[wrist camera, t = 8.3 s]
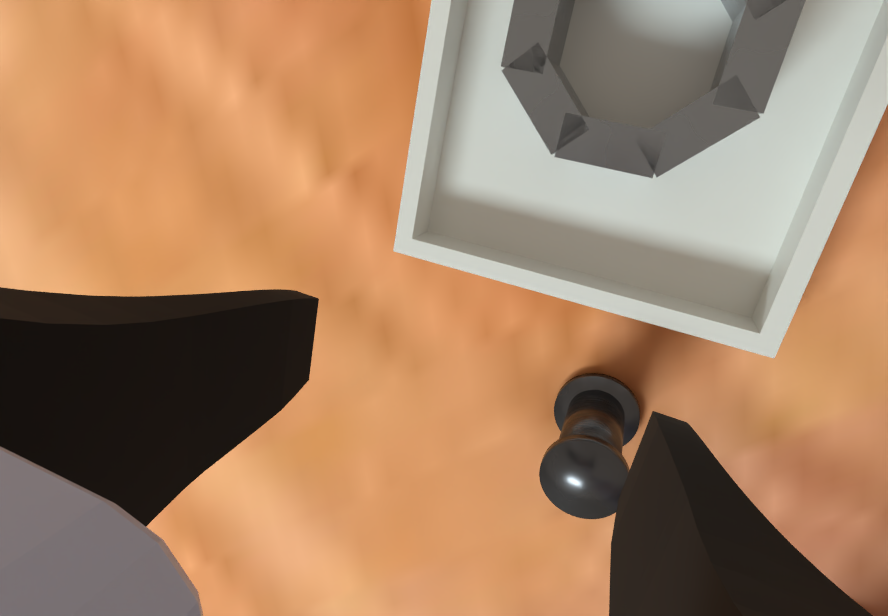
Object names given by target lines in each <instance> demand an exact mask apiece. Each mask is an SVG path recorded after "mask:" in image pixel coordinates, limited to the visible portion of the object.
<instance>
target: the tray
mask: <svg viewBox="0 0 888 616" xmlns="http://www.w3.org/2000/svg"><path fill="white" fill-rule="evenodd" d="M513 3H514V0H432V2H431V8H430V15H429V22H428V28H427V35H426V41H425V48H424V54H423V61H422V67H421V74H420V80H419V87H418V93H417V100H416V107H415V113H414V120H413V126H412V133H411V139H410V146H409V152H408V159H407V165H406V172H405V178H404V185H403V192H402V198H401V205H400V211H399V218H398V224H397V231H396V237H395V244H394V250H393V251H394V252H398V253H401V254H405V255H409V256H412V257H416V258H419V259H423V260H426V261H430V262H433V263H437V264H441V265H444V266H448V267H451V268H455V269H458V270H462V271H465V272H469V273H473V274H476V275H480V276H483V277H487V278H490V279H494V280H497V281H501V282H504V283H508V284H512V285H515V286H519V287H522V288H526V289H529V290H533V291H536V292H540V293H544V294H547V295H551V296H554V297H558V298H561V299H565V300H568V301H572V302H576V303H579V304H583V305H586V306H590V307H593V308H597V309H600V310H604V311H607V312H611V313H615V314H618V315H622V316H625V317H629V318H632V319H636V320H639V321H643V322H647V323H650V324H654V325H657V326H661V327H664V328H668V329H671V330H675V331H678V332H682V333H686V334H689V335H693V336H696V337H700V338H703V339H707V340H710V341H714V342H718V343H721V344H725V345H728V346H732V347H735V348H739V349H742V350H746V351H750V352H753V353H757V354H760V355H764V356H767V357H771V358H775V356H776V354H777V351H778V349H779V347H780V345H781V342H782V340H783V338H784V336H785V333H786V331H787V329H788V327H789V324H790V322H791V320H792V318H793V315H794V313H795V311H796V309H797V306H798V304H799V302H800V300H801V297H802V295H803V293H804V291H805V289H806V286H807V284H808V282H809V280H810V277H811V275H812V273H813V271H814V268H815V266H816V264H817V262H818V259H819V257H820V255H821V253H822V250H823V248H824V246H825V244H826V241H827V239H828V237H829V235H830V232H831V230H832V228H833V226H834V224H835V221H836V219H837V217H838V215H839V212H840V210H841V208H842V206H843V203H844V201H845V199H846V197H847V194H848V192H849V190H850V188H851V185H852V183H853V181H854V179H855V176H856V174H857V172H858V170H859V167H860V165H861V163H862V161H863V158H864V156H865V154H866V152H867V150H868V147H869V145H870V143H871V141H872V138H873V136H874V134H875V132H876V129H877V127H878V125H879V123H880V120H881V118H882V116H883V114H884V111H885V109H886V107H887V105H888V0H806V1H805V4H804V6H803V9H802V12H801V14H800V17H799V20H798V22H797V25H796V28H795V30H794V33H793V36H792V39H791V41H790V44H789V47H788V49H787V52H786V55H785V57H784V60H783V63H782V65H781V68H780V71H779V74H778V76H777V79H776V82H775V84H774V87H773V90H772V92H771V95H770V98H769V100H768V103H767V106H766V109H765V111H764V114H759V116H760V118H758V119H757V120H755V121H753V122H752V123H750V124H748V125H746V126H745V127H743V128H741V129H739V130H738V131H736V132H734V133H733V134H731V135H729V136H727V137H726V138H724V139H722V140H721V141H719V142H717V143H715V144H714V145H712V146H710V147H709V148H707V149H705V150H703V151H702V152H700V153H698V154H696V155H695V156H693V157H691V158H690V159H688V160H686V161H684V162H683V163H681V164H679V165H678V166H676V167H674V168H672V169H671V170H669V171H667V172H665V173H664V174H662V175H660V176H659V177H656V175H655V174H654V175H653V178H649V177H644V176H640V175H635V174H630V173H626V172H621V171H617V170H612V169H607V168H603V167H598V166H593V165H589V164H584V163H580V162H575V161H570V160H566V159H561V158H557V157H555V154H552V155H551V153H550V152H549V150H548V148H547V147H546V145H545V143H544V142H543V140H542V138H541V137H540V135H539V133H538V132H537V130H536V128H535V126H534V125H533V123H532V121H531V120H530V118H529V116H528V115H527V113H526V111H525V110H524V108H523V106H522V105H521V103H520V101H519V99H518V98H517V96H516V94H515V93H514V91H513V89H512V88H511V86H510V84H509V83H508V81H507V79H506V77H505V76H504V74H503V72H502V71H501V70H503V69H504V68H503V67H501V62H502V57H503V52H504V47H505V42H506V37H507V32H508V28H509V23H510V18H511V13H512V8H513ZM731 25H732V20H731V18H730V16H729V14H728V13H727V11H726V9H725V7H724V5H723V4H722V2H721V0H575V3H574V7H573V11H572V16H571V20H570V24H569V28H568V32H567V37H566V41H565V45H564V49H563V54H562V58H561V62H560V67H561V69H562V71H563V72H564V74H565V76H566V77H567V79H568V81H569V83H570V84H571V86H572V88H573V89H574V91H575V93H576V95H577V96H578V98H579V100H580V101H581V103H582V105H583V107H584V108H585V110H586V112H587V113H588V115H589V117H591V118H596V119H601V120H606V121H611V122H617V123H622V124H627V125H632V126H637V127H642V128H647V129H651V128H652V127H654V126H655V125H657V124H659V123H660V122H662V121H663V120H665V119H667V118H668V117H670V116H671V115H673V114H675V113H676V112H678V111H679V110H681V109H683V108H684V107H686V106H687V105H689V104H691V103H692V102H694V101H695V100H697V99H699V98H700V97H702V96H703V95H705V94H707V93H708V92H709V91H710V88H711V85H712V82H713V79H714V76H715V73H716V70H717V67H718V64H719V61H720V58H721V55H722V52H723V49H724V46H725V43H726V40H727V37H728V34H729V31H730V28H731Z"/></svg>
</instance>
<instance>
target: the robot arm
mask: <svg viewBox="0 0 888 616" xmlns="http://www.w3.org/2000/svg"><path fill="white" fill-rule="evenodd" d="M318 300H319V299H318V298H315V297H312V296H309V295H306V294H303V293H301V292H298V291H293V290H252V291H238V292H224V293H210V294H193V295H172V296H146V297H120V296H87V295H74V294H61V293H48V292H36V291H25V290H17V289H9V288H1V287H0V616H203V612H202V607H201V603H200V598H199V594H198V591H197V589H196V588H195V586H194V585H193V583H192V582H191V581H190V579H189V578H188V576H187V575H186V573H185V572H184V570H183V569H182V567H181V566H180V564H179V563H178V561H177V560H176V558H175V557H174V555H173V554H172V552H171V551H170V549H169V548H168V546H167V545H166V543H165V542H164V540H163V539H161V538H160V537H159V536H157V535H156V534H155V533H153V532H152V531H151V530H149V529H148V528H147V527H146V526H147V525H148V524H149V523H150V522H151V521H152V520H153V519H154V518H155V517H156V516H157V515H158V514H159V513H160V512H161V511H162V510H163V509H164V508H165V507H166V506H167V505H168V504H169V503H170V502H171V501H172V500H173V499H174V498H175V497H176V496H177V495H178V494H179V493H180V492H181V491H182V490H183V489H185V488H186V487H187V486H188V485H189V484H190V483H191V482H192V481H194V480H195V479H196V478H197V477H198V476H199V475H201V474H202V473H203V472H204V471H205V470H207V469H208V468H209V467H210V466H212V465H213V464H214V463H215V462H217V461H218V460H219V459H221V458H222V457H223V456H224V455H226V454H227V453H228V452H229V451H231V450H232V449H233V448H234V447H236V446H237V445H238V444H240V443H241V442H242V441H243V440H245V439H246V438H247V437H248V436H250V435H251V434H252V433H254V432H255V431H256V430H257V429H259V428H260V427H261V426H262V425H263V424H265V423H266V422H267V421H268V420H270V419H271V418H272V417H273V416H275V415H276V414H277V413H278V412H279V411H281V410H282V409H283V408H284V407H285V405H286V404H287V403H288V402H289V401H290V400H291V399H292V398H293V397H294V396H295V395H296V394H297V393H298V392H299V390H300V389H301V388H302V387H303V386H304V385H305V384H306V382H307V381H308V380H309V374H310V366H311V357H312V349H313V341H314V333H315V325H316V317H317V309H318ZM609 616H872V615H871V614H870V613H869V612H867V611H866V610H865V609H864V608H863V607H861V606H860V605H859V604H858V603H856V602H855V601H854V600H853V599H851V598H850V597H849V596H848V595H847V594H845V593H844V592H843V591H842V590H841V589H840V588H838V587H837V586H836V585H835V584H834V583H833V582H831V581H830V580H829V579H828V578H827V577H826V576H825V575H824V574H822V573H821V572H820V571H819V570H818V569H817V568H816V567H815V566H814V565H813V564H812V563H811V562H810V561H809V560H807V559H806V558H805V557H804V556H803V555H802V554H801V553H800V552H799V551H798V550H797V549H796V548H795V547H794V546H793V545H791V543H790V542H789V541H788V540H787V539H786V538H785V537H784V536H783V535H782V534H781V533H780V532H779V531H778V530H777V529H776V528H775V527H774V526H773V525H772V524H771V523H770V522H769V521H768V520H767V518H766V517H765V516H764V515H763V514H762V513H761V512H760V511H759V510H758V509H757V507H756V506H755V505H754V504H753V503H752V502H751V501H750V500H749V498H748V497H747V496H746V495H745V494H744V493H743V491H742V490H741V489H740V488H739V487H738V485H737V484H736V483H735V482H734V481H733V479H732V478H731V477H730V476H729V474H728V473H727V472H726V471H725V469H724V468H723V467H722V466H721V464H720V463H719V462H718V460H717V459H716V458H715V457H714V455H713V454H712V453H711V451H710V450H709V449H708V448H707V446H706V445H705V444H704V442H703V441H702V440H701V438H700V437H699V436H698V435H697V433H696V432H695V431H694V430H693V429H692V427H691V426H690V425H689V424H688V423H687V422H684V421H681V420H678V419H675V418H672V417H669V416H666V415H663V414H660V413H657V412H654V411H653V412H652V415H651V417H650V420H649V422H648V425H647V427H646V430H645V433H644V435H643V438H642V440H641V443H640V445H639V448H638V450H637V453H636V456H635V458H634V461H633V463H632V466H631V468H630V471H629V474H628V476H627V479H626V481H625V484H624V486H623V489H622V491H621V494H620V497H619V500H618V506H617V512H616V517H615V523H614V529H613V536H612V542H611V567H610V605H609Z"/></svg>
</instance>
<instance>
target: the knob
mask: <svg viewBox="0 0 888 616" xmlns="http://www.w3.org/2000/svg"><path fill="white" fill-rule="evenodd" d="M554 416H555V420H556V423H557V425H558V427H559V429H560V431H561V434H560V438H559V440H557V441H556V442H554V443H553V444H552V445H551V446H550V447H549V448H548V449H547V451H546V453H545V454H544V457H543V460H542V463H541V466H540V474H539V475H540V482H541V486H542V488H543V491H544V492H545V494H546V496H547V497H548V498H549V500H550V501H551V502H552V503H553V504H554V505H555V506H557V507H558V508H559V509H561V510H562V511H564V512H566V513H568V514H570V515H572V516H576V517H579V518H584V519H599V518H604V517H607V516H610V515H612V514H614V513H615V512H617V506H618V500H619V497H620V494H621V491H622V489H623V486H624V484H625V481H626V479H627V476H628V474H629V471H630V470H629V467H628V464H627V462H626V460H625V459H624V457H623V456H622V446H624V445H626V444H627V443H628V442H629V441H630V440H631V439H632V438H633V437H634V435H635V434H636V432H637V429H638V426H639V421H640V410H639V405H638V402H637V399H636V398H635V396H634V394H633V393H632V391H631V390H630V389H629V388H628V387H627V386H626V385H625V384H624V383H622V382H621V381H619V380H617V379H615V378H613V377H611V376H608V375H604V374H597V373H590V374H584V375H580V376H577V377H575V378H573V379H571V380H570V381H568V382H567V383H566V384H565V385H564V386H563V387H562V388H561V390H560V391H559V393H558V396H557V398H556V401H555V406H554Z"/></svg>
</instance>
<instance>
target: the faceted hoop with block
mask: <svg viewBox="0 0 888 616" xmlns="http://www.w3.org/2000/svg"><path fill="white" fill-rule="evenodd" d="M805 1H806V0H721V2H722V4H723V5H724V7H725V9H726V11H727V13H728V14H729V16H730V18H731V20H732V25H731V28H730V31H729V34H728V37H727V40H726V43H725V46H724V49H723V52H722V55H721V58H720V61H719V64H718V67H717V70H716V73H715V76H714V79H713V82H712V85H711V88H710V91H709V92H708V93H707V94H705V95H703V96H702V97H700V98H699V99H697V100H695V101H694V102H692V103H691V104H689V105H687V106H686V107H684V108H683V109H681V110H679V111H678V112H676V113H675V114H673V115H671V116H670V117H668V118H667V119H665V120H663V121H662V122H660V123H659V124H657V125H655V126H654V127H652V128H651V129H647V128H642V127H637V126H632V125H627V124H622V123H617V122H611V121H606V120H601V119H596V118H591V117H589V115H588V113H587V112H586V110H585V108H584V107H583V105H582V103H581V101H580V100H579V98H578V96H577V95H576V93H575V91H574V89H573V88H572V86H571V84H570V83H569V81H568V79H567V77H566V76H565V74H564V72H563V71H562V69H561V67H560V62H561V58H562V54H563V49H564V45H565V41H566V37H567V32H568V28H569V24H570V20H571V16H572V11H573V7H574V3H575V0H514V3H513V8H512V13H511V18H510V23H509V28H508V32H507V37H506V42H505V47H504V52H503V57H502V62H501V67H503V68H504V69H503V70H501V71H502V72H503V74H504V76H505V77H506V79H507V81H508V83H509V84H510V86H511V88H512V89H513V91H514V93H515V94H516V96H517V98H518V99H519V101H520V103H521V105H522V106H523V108H524V110H525V111H526V113H527V115H528V116H529V118H530V120H531V121H532V123H533V125H534V126H535V128H536V130H537V132H538V133H539V135H540V137H541V138H542V140H543V142H544V143H545V145H546V147H547V148H548V150H549V152H550V153H551V155H552V154H555V157H557V158H561V159H566V160H570V161H575V162H580V163H584V164H589V165H593V166H598V167H603V168H607V169H612V170H617V171H621V172H626V173H630V174H635V175H640V176H644V177H649V178H653V175H654V174H655V175H656V177H659V176H660V175H662V174H664V173H665V172H667V171H669V170H671V169H672V168H674V167H676V166H678V165H679V164H681V163H683V162H684V161H686V160H688V159H690V158H691V157H693V156H695V155H696V154H698V153H700V152H702V151H703V150H705V149H707V148H709V147H710V146H712V145H714V144H715V143H717V142H719V141H721V140H722V139H724V138H726V137H727V136H729V135H731V134H733V133H734V132H736V131H738V130H739V129H741V128H743V127H745V126H746V125H748V124H750V123H752V122H753V121H755V120H757V119H758V118H760V116H759V114H764V111H765V109H766V106H767V103H768V100H769V98H770V95H771V92H772V90H773V87H774V84H775V82H776V79H777V76H778V74H779V71H780V68H781V65H782V63H783V60H784V57H785V55H786V52H787V49H788V47H789V44H790V41H791V39H792V36H793V33H794V30H795V28H796V25H797V22H798V20H799V17H800V14H801V12H802V9H803V6H804V4H805Z"/></svg>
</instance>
